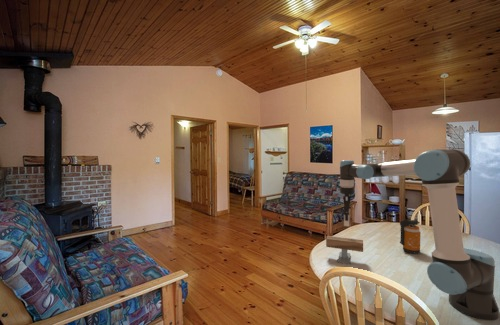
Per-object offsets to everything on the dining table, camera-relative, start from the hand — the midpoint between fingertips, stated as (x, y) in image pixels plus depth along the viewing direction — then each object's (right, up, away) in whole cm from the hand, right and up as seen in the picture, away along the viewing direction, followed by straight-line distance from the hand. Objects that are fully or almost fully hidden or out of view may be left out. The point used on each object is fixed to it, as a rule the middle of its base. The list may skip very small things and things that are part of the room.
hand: (346, 222), depth 144 cm
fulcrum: (-1, -22, 0) cm, 21 cm away
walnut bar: (-1, -15, 0) cm, 15 cm away
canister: (+43, -20, +9) cm, 48 cm away
